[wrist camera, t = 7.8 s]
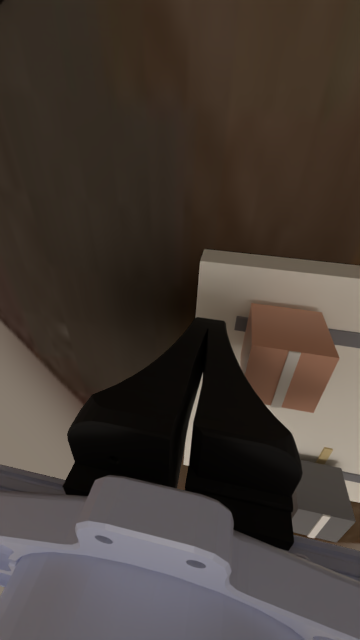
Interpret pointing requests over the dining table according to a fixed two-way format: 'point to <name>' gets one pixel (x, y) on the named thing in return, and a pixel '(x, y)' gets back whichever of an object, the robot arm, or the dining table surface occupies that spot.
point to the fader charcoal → (321, 503)
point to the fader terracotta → (288, 356)
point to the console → (306, 294)
